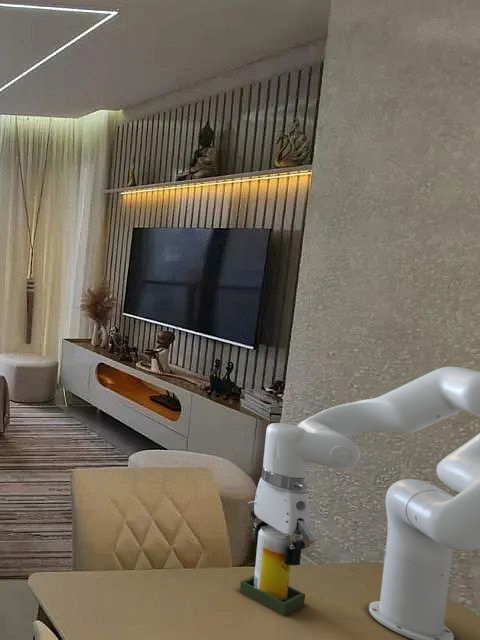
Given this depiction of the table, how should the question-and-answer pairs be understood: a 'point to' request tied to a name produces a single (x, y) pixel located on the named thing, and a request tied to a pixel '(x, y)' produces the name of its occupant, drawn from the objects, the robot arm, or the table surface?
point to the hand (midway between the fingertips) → (275, 553)
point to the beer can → (271, 563)
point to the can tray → (283, 607)
